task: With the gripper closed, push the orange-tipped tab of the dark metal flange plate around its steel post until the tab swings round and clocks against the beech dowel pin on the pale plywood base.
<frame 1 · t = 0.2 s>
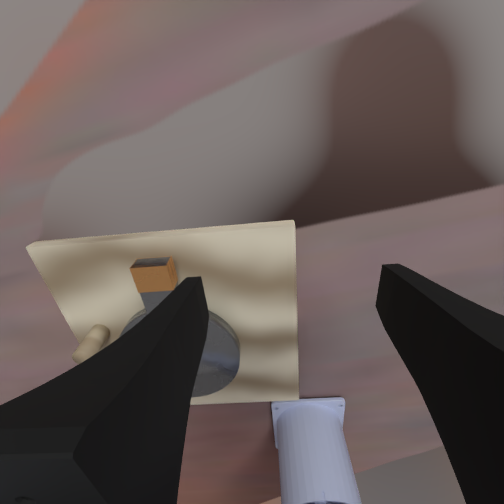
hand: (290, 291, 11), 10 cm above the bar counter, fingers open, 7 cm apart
base: (188, 328, 25), on the bar counter
flange: (174, 336, 22), point 3 cm above the bar counter, hinge at 0.0°
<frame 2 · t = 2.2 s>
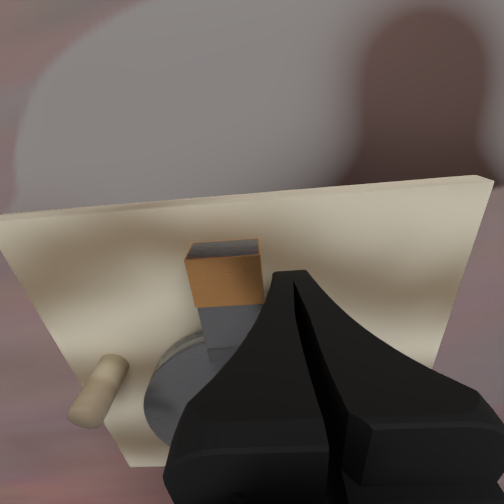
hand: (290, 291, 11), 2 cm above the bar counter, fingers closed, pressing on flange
base: (249, 358, 16), on the bar counter
flange: (244, 380, 13), point 3 cm above the bar counter, hinge at 0.0°, touching gripper
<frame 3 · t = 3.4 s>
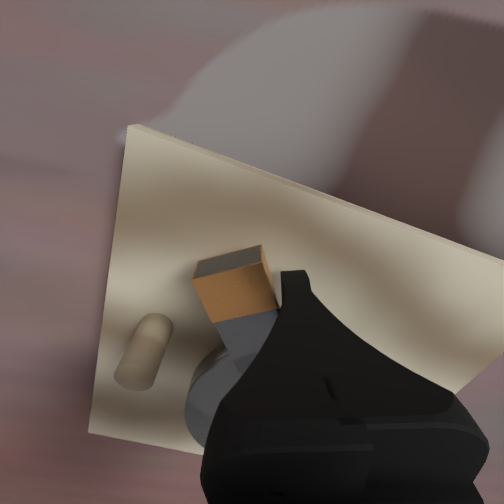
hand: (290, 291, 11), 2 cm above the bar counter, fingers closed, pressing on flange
base: (282, 361, 16), on the bar counter
flange: (277, 384, 13), point 3 cm above the bar counter, hinge at 36.9°, touching gripper
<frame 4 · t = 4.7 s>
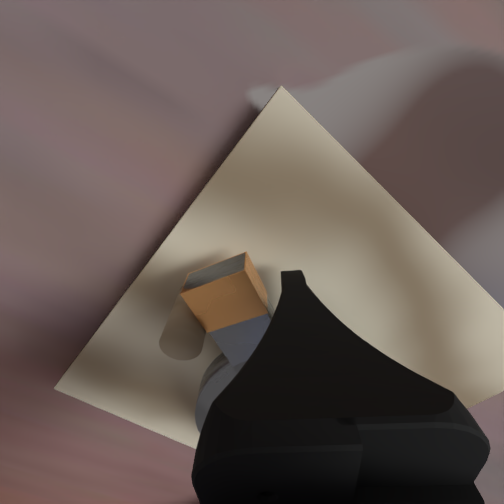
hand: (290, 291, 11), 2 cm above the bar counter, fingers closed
base: (290, 362, 16), on the bar counter
flange: (282, 387, 13), point 3 cm above the bar counter, hinge at 63.2°, touching gripper
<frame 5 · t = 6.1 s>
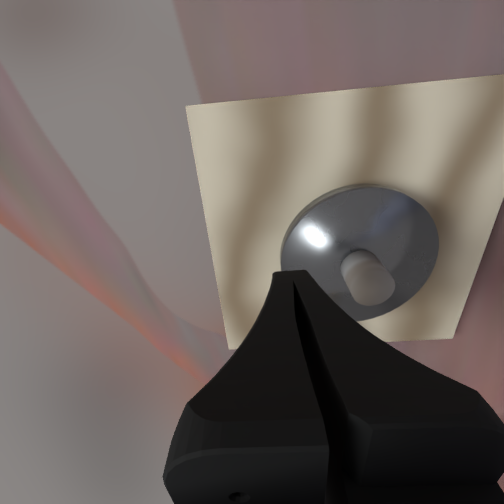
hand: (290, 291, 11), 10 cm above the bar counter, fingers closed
base: (343, 240, 21), on the bar counter
flange: (339, 282, 19), point 3 cm above the bar counter, hinge at 63.3°
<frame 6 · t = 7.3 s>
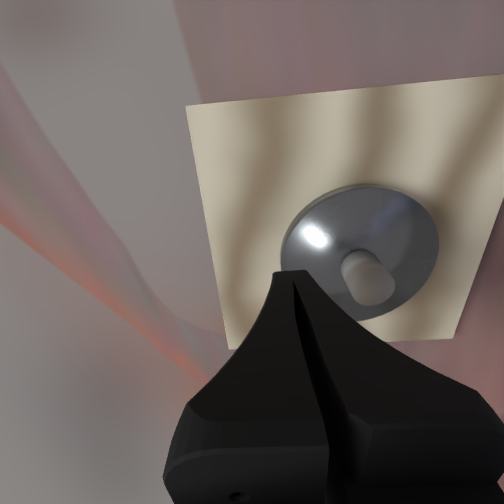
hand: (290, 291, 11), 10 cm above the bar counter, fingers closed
base: (343, 240, 21), on the bar counter
flange: (339, 282, 19), point 3 cm above the bar counter, hinge at 63.3°
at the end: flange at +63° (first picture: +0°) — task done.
